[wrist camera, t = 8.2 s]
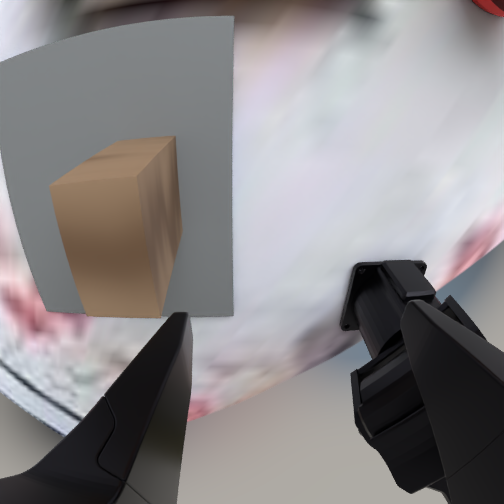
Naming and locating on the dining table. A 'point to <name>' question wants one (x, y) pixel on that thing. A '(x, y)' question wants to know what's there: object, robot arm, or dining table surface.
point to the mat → (125, 128)
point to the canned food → (491, 6)
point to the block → (122, 226)
